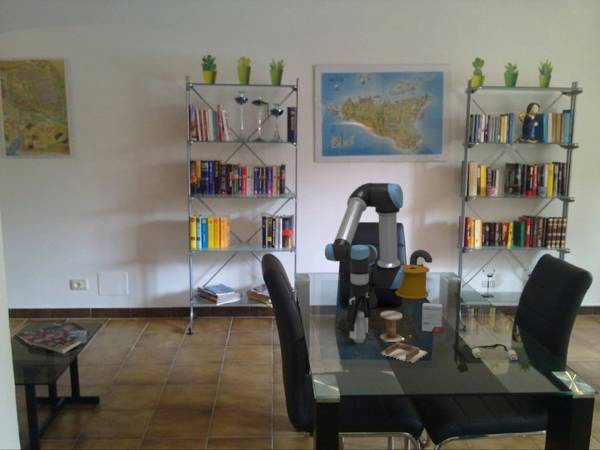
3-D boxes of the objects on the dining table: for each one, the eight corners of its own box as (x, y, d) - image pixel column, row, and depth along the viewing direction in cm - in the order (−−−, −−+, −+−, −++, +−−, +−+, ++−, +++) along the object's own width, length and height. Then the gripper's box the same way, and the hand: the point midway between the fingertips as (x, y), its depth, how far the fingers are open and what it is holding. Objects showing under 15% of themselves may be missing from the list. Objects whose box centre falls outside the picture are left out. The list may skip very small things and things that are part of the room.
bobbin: (376, 339, 210) (376, 314, 209) (386, 333, 217) (387, 309, 216) (395, 344, 205) (395, 319, 203) (405, 338, 212) (406, 313, 210)
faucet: (426, 286, 292) (427, 253, 289) (401, 283, 300) (401, 250, 297) (436, 280, 307) (437, 248, 304) (411, 276, 315) (412, 246, 312)
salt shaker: (350, 339, 211) (351, 309, 209) (364, 338, 211) (364, 309, 209) (353, 344, 205) (353, 314, 203) (367, 344, 206) (367, 313, 204)
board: (380, 354, 195) (380, 347, 194) (395, 345, 204) (395, 338, 204) (413, 363, 186) (413, 356, 186) (427, 353, 195) (427, 347, 195)
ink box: (442, 329, 222) (443, 303, 221) (441, 333, 218) (442, 307, 216) (422, 327, 225) (423, 302, 223) (421, 330, 220) (422, 305, 219)
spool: (432, 292, 280) (433, 266, 278) (422, 300, 265) (423, 273, 263) (402, 288, 290) (403, 263, 287) (390, 295, 275) (391, 269, 272)
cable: (465, 344, 205) (466, 336, 205) (506, 346, 203) (507, 338, 203) (473, 360, 190) (474, 351, 190) (518, 362, 188) (518, 353, 188)
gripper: (353, 289, 194) (352, 345, 197) (380, 279, 210) (379, 330, 214) (337, 286, 199) (337, 340, 202) (365, 276, 215) (364, 326, 218)
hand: (358, 335), depth 208 cm, fingers open, 8 cm apart
